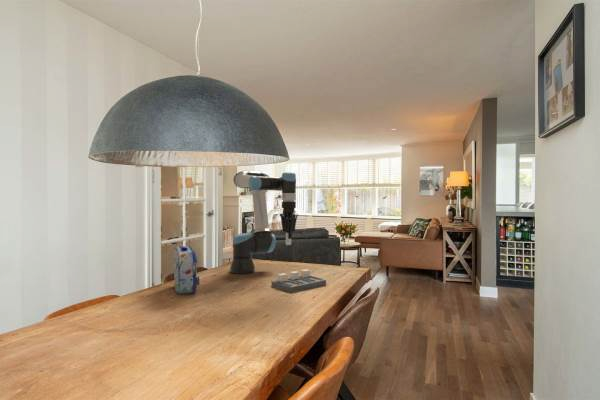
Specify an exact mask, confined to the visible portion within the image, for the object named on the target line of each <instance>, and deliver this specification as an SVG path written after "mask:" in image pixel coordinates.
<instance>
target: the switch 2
mask: <svg viewBox="0 0 600 400" xmlns="http://www.w3.org/2000/svg"><path fill="white" fill-rule="evenodd" d="M300 276H301V277H310V276H311V270H310V269H306V268H305V269H301V270H300Z"/></svg>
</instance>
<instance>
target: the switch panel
mask: <svg viewBox="0 0 600 400" xmlns="http://www.w3.org/2000/svg"><path fill="white" fill-rule="evenodd" d="M322 286H327V279H324V278H322V277H317V276H313V275H310V277H301V275H299V279H295V280H293V279H290V278H289V277H287V281H284V282H280V281H277V279H276V280H272V281H271V287H272V288H273V287H274V288H276V289H279V290H282V291H284V292H285V291H286V292H289V293H295V292H299V291H304V290H308V289H309V290H310V289H314V288H318V287H322Z"/></svg>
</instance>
